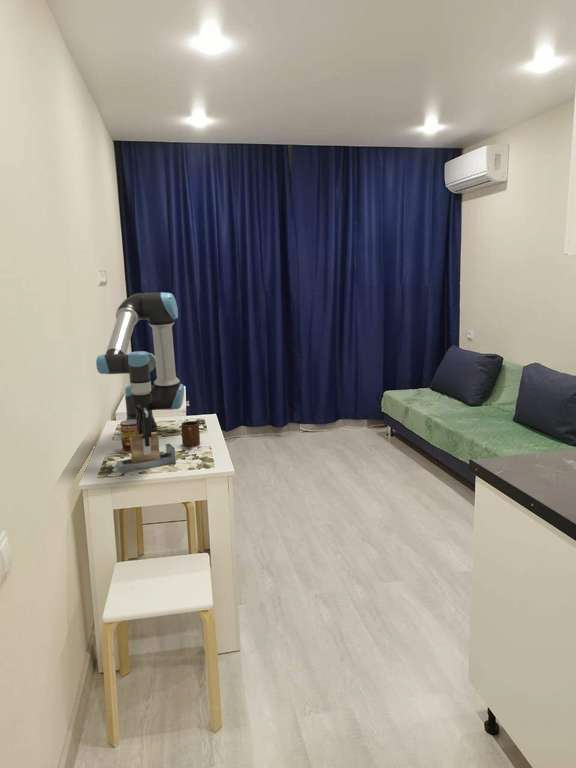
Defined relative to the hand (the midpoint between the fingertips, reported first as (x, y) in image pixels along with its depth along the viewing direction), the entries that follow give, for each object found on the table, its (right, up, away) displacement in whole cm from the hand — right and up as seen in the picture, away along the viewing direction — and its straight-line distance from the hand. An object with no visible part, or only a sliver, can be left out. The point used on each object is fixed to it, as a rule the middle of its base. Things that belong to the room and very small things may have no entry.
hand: (145, 452), depth 218 cm
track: (0, -5, +1) cm, 5 cm away
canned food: (-11, -2, +22) cm, 25 cm away
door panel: (0, -5, +1) cm, 5 cm away
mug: (+13, -1, +25) cm, 28 cm away
